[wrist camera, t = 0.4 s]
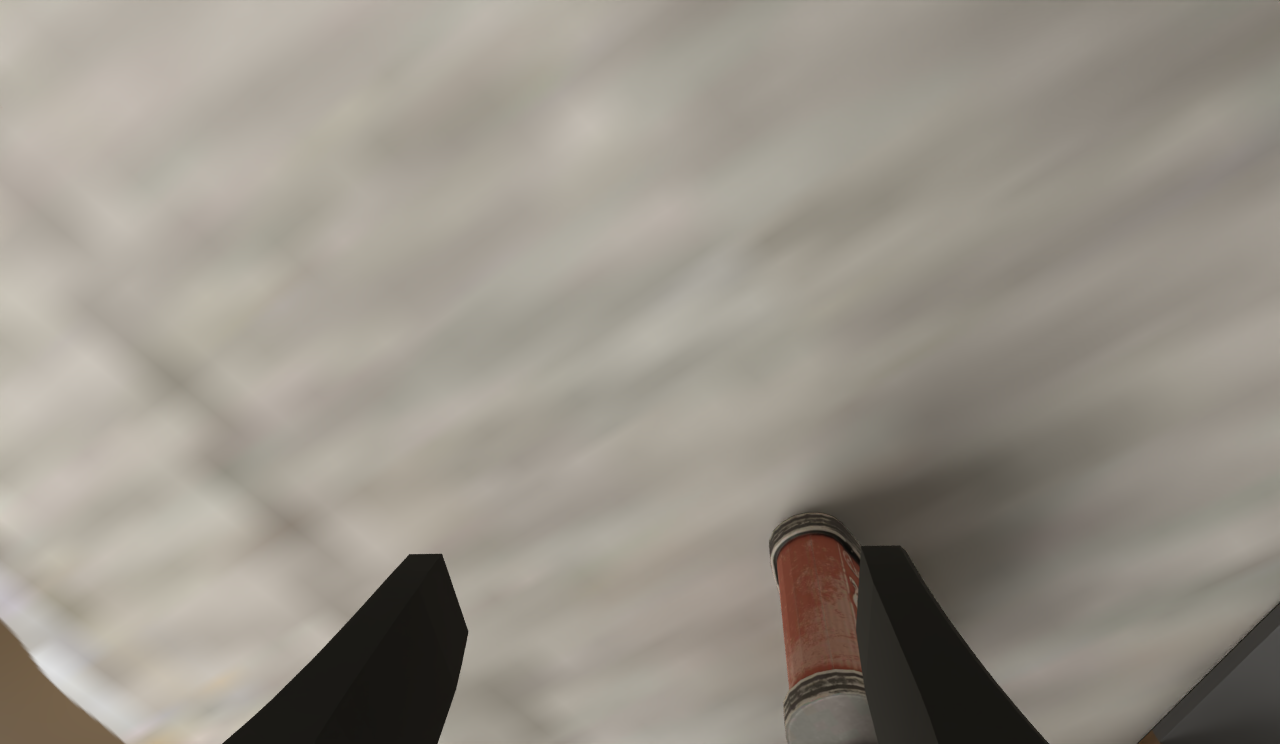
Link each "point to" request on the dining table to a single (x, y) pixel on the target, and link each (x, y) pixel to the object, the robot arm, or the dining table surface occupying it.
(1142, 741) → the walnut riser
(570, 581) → the dining table surface
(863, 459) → the dining table surface
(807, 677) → the lighter
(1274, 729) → the rubber mat
